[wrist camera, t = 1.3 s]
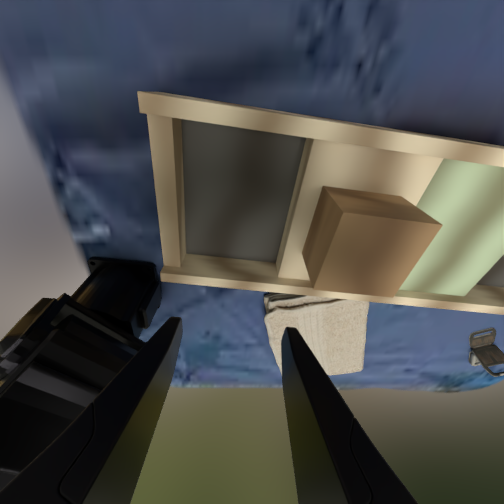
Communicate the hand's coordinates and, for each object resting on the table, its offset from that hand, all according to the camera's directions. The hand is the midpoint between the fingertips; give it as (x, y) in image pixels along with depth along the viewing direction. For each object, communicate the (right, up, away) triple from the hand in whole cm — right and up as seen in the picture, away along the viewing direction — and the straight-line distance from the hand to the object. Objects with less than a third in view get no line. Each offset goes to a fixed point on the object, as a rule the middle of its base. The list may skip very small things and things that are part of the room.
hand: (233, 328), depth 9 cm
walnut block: (+8, +5, +9) cm, 14 cm away
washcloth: (+9, -7, +22) cm, 25 cm away
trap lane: (+13, +6, +12) cm, 19 cm away
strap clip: (+33, -10, +23) cm, 42 cm away
